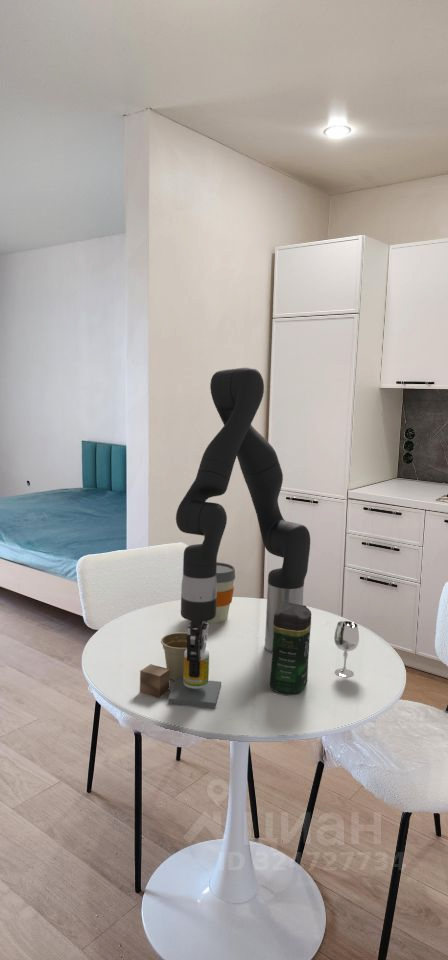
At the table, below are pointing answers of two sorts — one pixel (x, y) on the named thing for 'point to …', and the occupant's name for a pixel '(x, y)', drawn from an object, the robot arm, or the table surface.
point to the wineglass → (346, 642)
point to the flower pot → (175, 653)
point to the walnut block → (154, 680)
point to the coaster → (195, 694)
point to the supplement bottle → (204, 670)
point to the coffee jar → (290, 649)
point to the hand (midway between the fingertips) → (196, 670)
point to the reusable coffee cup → (223, 591)
